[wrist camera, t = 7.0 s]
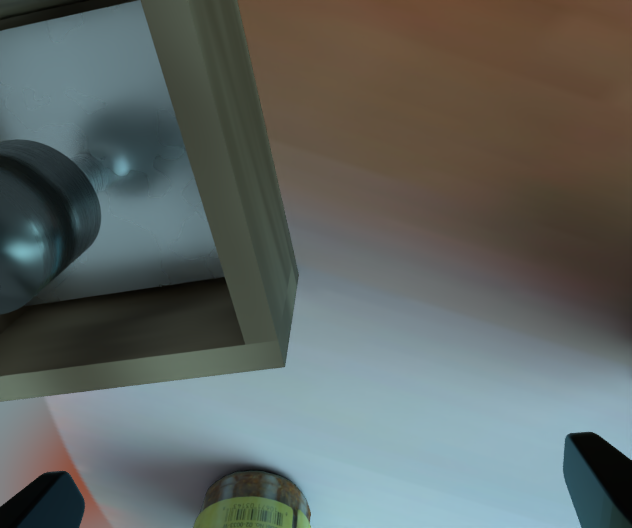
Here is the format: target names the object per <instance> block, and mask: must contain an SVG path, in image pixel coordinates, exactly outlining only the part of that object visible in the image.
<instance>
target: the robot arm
mask: <svg viewBox="0 0 632 528" xmlns="http://www.w3.org/2000/svg"><path fill="white" fill-rule="evenodd" d="M563 473H564V478H565V482H566V485H567V488H568V491H569V494H570V496H571V499H572V502H573V505H574V508H575V510H576V513H577V516H578V519H579V522H580V525H581V527H582V528H632V460H630V459H629V458H628V457H626V456H625V455H624V454H622V453H621V452H620V451H619V450H617V449H616V448H615V447H613V446H612V445H611V444H609V443H608V442H607V441H605V440H604V439H603V438H601V437H600V436H599V435H597V434H595V433H593V432H581V433H570V434H568V435H567V436H566V438H565V448H564V462H563ZM84 509H85V502H84V498H83V496H82V494H81V493H80V491H79V489H78V487H77V486H76V484H75V483H74V480H73V479H72V477H71V475H70V474H69V473H68V472H66V471H56V472H47V473H44V474H42V475H41V476H39V477H38V478H36V479H35V480H34V481H33V482H31V483H30V484H29V485H28V486H26V487H25V488H24V489H23V490H21V491H20V492H19V493H17V494H16V495H15V496H14V497H12V498H11V499H10V500H9V501H7V502H6V503H5V504H3V505H2V506H1V507H0V528H79V526H80V523H81V520H82V517H83V513H84Z"/></svg>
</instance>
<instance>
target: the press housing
mask: <svg viewBox="0 0 632 528" xmlns="http://www.w3.org/2000/svg"><path fill="white" fill-rule="evenodd" d="M133 1H137V0H0V31H2V30H6V29H11V28H15V27H20V26H25V25H29V24H34V23H38V22H43V21H47V20H52V19H56V18H61V17H65V16H70V15H74V14H79V13H83V12H88V11H92V10H97V9H101V8H106V7H110V6H115V5H119V4H124V3H128V2H133ZM140 1H141V4H142V7H143V11H144V14H145V17H146V20H147V24H148V27H149V30H150V34H151V37H152V40H153V43H154V47H155V50H156V53H157V56H158V60H159V63H160V66H161V70H162V73H163V76H164V79H165V83H166V86H167V89H168V93H169V96H170V99H171V102H172V106H173V109H174V112H175V115H176V119H177V122H178V125H179V129H180V132H181V135H182V138H183V142H184V145H185V148H186V152H187V155H188V158H189V161H190V165H191V168H192V171H193V175H194V178H195V181H196V184H197V188H198V191H199V194H200V197H201V201H202V204H203V207H204V211H205V214H206V217H207V220H208V224H209V227H210V230H211V234H212V237H213V240H214V243H215V247H216V250H217V253H218V257H219V260H220V263H221V266H222V270H223V273H224V276H225V277H220V278H214V279H207V280H200V281H193V282H186V283H180V284H173V285H166V286H159V287H152V288H145V289H139V290H132V291H125V292H118V293H111V294H104V295H98V296H91V297H84V298H77V299H70V300H64V301H57V302H50V303H43V304H36V305H29V306H25V305H24V306H22V307H20V308H19V309H17V310H15V311H12V312H9V313H5V314H0V402H2V401H10V400H18V399H26V398H35V397H43V396H51V395H59V394H68V393H76V392H84V391H92V390H100V389H109V388H117V387H125V386H133V385H141V384H150V383H158V382H166V381H174V380H182V379H191V378H199V377H207V376H215V375H223V374H232V373H240V372H248V371H256V370H264V369H273V368H281V367H285V363H286V357H287V350H288V343H289V337H290V330H291V323H292V316H293V310H294V303H295V296H296V290H297V283H298V276H299V274H298V269H297V265H296V261H295V256H294V252H293V247H292V243H291V238H290V234H289V229H288V225H287V220H286V216H285V212H284V207H283V203H282V198H281V194H280V189H279V185H278V180H277V176H276V172H275V167H274V163H273V158H272V154H271V149H270V145H269V140H268V136H267V131H266V127H265V123H264V118H263V114H262V109H261V105H260V100H259V96H258V91H257V87H256V82H255V78H254V74H253V69H252V65H251V60H250V56H249V51H248V47H247V42H246V38H245V33H244V29H243V25H242V20H241V16H240V11H239V7H238V2H237V0H140Z"/></svg>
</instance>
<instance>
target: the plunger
mask: <svg viewBox="0 0 632 528" xmlns="http://www.w3.org/2000/svg"><path fill="white" fill-rule="evenodd" d="M220 277H225V276H224V273H223V270H222V266H221V263H220V260H219V257H218V253H217V250H216V247H215V243H214V240H213V237H212V234H211V230H210V227H209V224H208V220H207V217H206V214H205V211H204V207H203V204H202V201H201V197H200V194H199V191H198V188H197V184H196V181H195V178H194V175H193V171H192V168H191V165H190V161H189V158H188V155H187V152H186V148H185V145H184V142H183V138H182V135H181V132H180V129H179V125H178V122H177V119H176V115H175V112H174V109H173V106H172V102H171V99H170V96H169V93H168V89H167V86H166V83H165V79H164V76H163V73H162V70H161V66H160V63H159V60H158V56H157V53H156V50H155V47H154V43H153V40H152V37H151V34H150V30H149V27H148V24H147V20H146V17H145V14H144V11H143V7H142V4H141V1H140V0H137V1H133V2H128V3H124V4H119V5H115V6H110V7H106V8H101V9H97V10H92V11H88V12H83V13H79V14H74V15H70V16H65V17H61V18H56V19H52V20H47V21H43V22H38V23H34V24H29V25H25V26H20V27H15V28H11V29H6V30H2V31H0V314H5V313H9V312H12V311H15V310H17V309H19V308H20V307H22V306H24V305H25V306H29V305H36V304H43V303H50V302H57V301H64V300H70V299H77V298H84V297H91V296H98V295H104V294H111V293H118V292H125V291H132V290H139V289H145V288H152V287H159V286H166V285H173V284H180V283H186V282H193V281H200V280H207V279H214V278H220Z"/></svg>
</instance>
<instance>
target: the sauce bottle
mask: <svg viewBox="0 0 632 528" xmlns="http://www.w3.org/2000/svg"><path fill="white" fill-rule="evenodd" d="M310 516H311V512H310V509H309V506H308V503H307V500H306V498H305V497H304V495H303V494H302V492H301V491H300V490H299V489H298V488H297V487H296V485H295V484H293V483H292V482H291V481H289V480H287V479H285V478H283V477H281V476H280V475H275V474H271V473H267V472H264V471H246V472H240V471H238V472H235V473H233V474H230V475H228V476H224V477H223V478H222V479H220V480H218V481H216V482H215V483H214V484H213V485H212V486H211V487H210V488H209V489H208V491H207V493H206V496H205V499H204V502H203V505H202V508H201V511H200V514H199V516H198V517H197V519H196V521H195V524H194V527H193V528H311V526H310Z"/></svg>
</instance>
